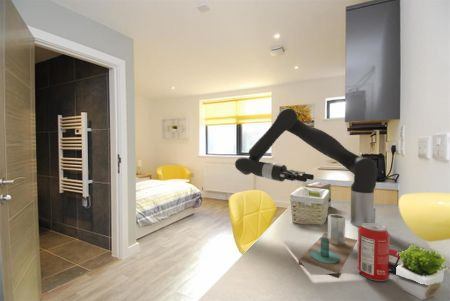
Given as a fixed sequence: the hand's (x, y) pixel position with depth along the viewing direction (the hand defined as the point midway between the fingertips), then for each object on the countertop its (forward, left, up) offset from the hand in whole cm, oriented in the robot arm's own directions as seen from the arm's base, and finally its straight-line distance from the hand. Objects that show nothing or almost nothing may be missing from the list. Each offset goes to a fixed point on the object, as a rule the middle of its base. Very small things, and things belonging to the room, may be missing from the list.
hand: (310, 178), depth 93 cm
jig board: (-2, +13, -25) cm, 28 cm away
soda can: (-7, +27, -25) cm, 38 cm away
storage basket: (-12, -24, -26) cm, 37 cm away
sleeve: (-7, +7, -24) cm, 26 cm away
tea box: (-28, -45, -26) cm, 59 cm away
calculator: (-17, +22, -26) cm, 38 cm away
